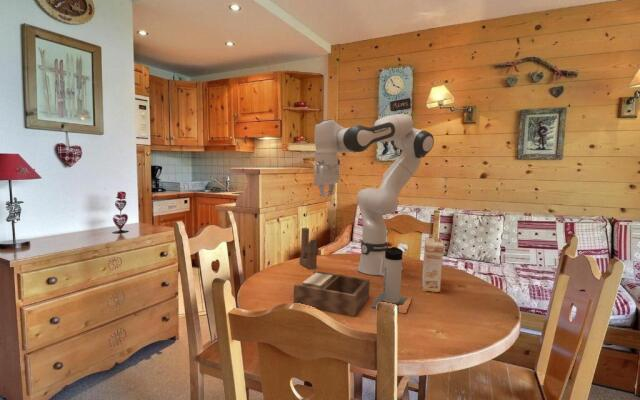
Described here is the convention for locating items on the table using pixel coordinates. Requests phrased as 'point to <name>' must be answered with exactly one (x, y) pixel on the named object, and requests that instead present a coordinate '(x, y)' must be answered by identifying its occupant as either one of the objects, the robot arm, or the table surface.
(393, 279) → the travel mug
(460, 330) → the table surface
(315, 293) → the walnut rack
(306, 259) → the brown wooden handled piece
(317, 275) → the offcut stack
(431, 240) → the coffeecake box
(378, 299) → the rubber mat
